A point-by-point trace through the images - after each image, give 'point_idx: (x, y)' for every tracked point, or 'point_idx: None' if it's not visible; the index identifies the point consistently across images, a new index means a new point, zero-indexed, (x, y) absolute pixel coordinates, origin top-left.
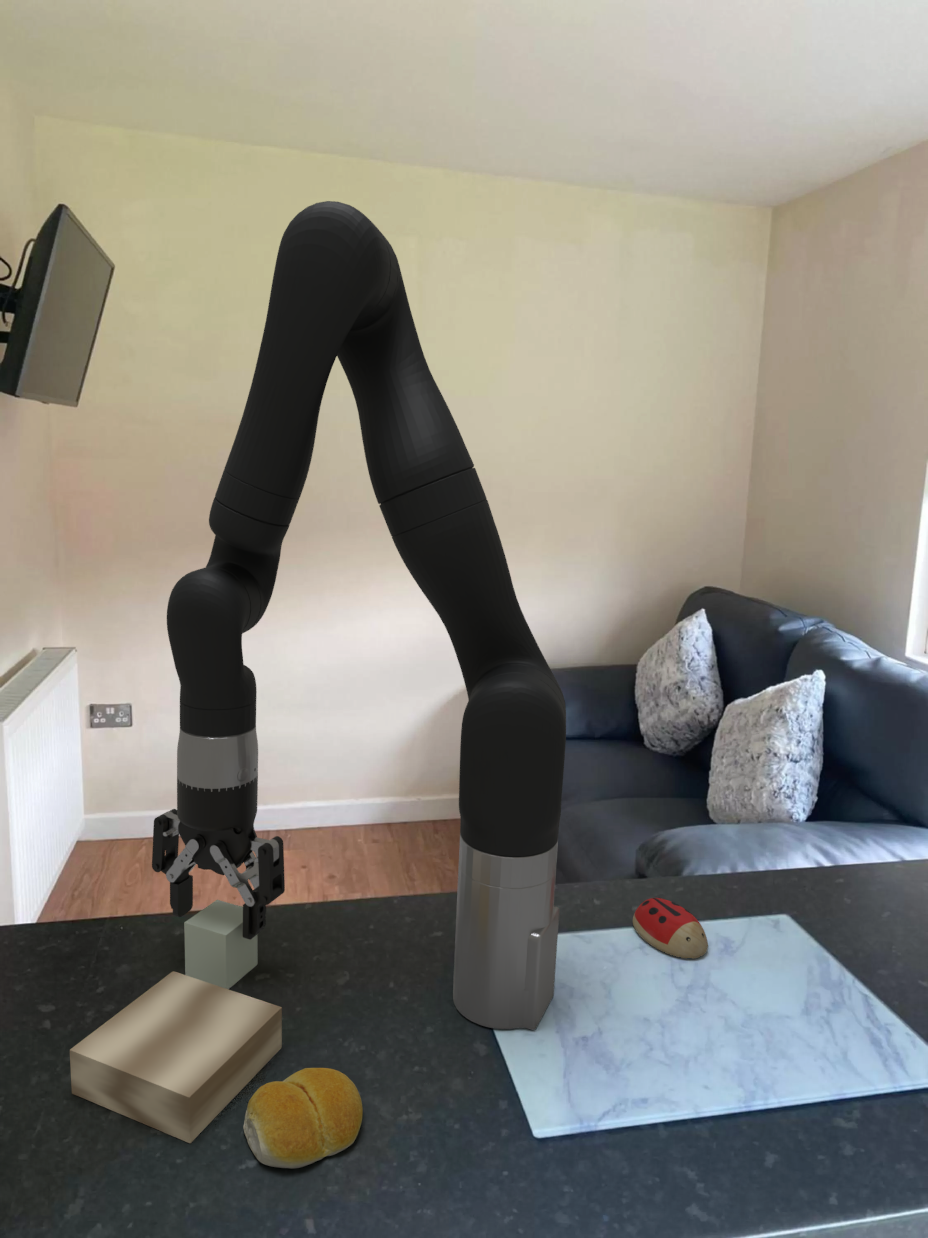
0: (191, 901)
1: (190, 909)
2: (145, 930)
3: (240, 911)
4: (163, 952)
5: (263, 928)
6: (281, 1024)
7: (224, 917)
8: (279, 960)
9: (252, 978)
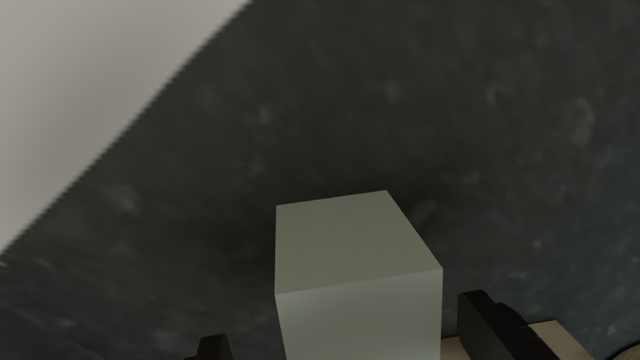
0: (221, 355)
1: (226, 339)
2: (56, 240)
3: (394, 297)
4: (178, 270)
5: (501, 304)
6: (589, 355)
7: (376, 344)
8: (420, 152)
9: None
